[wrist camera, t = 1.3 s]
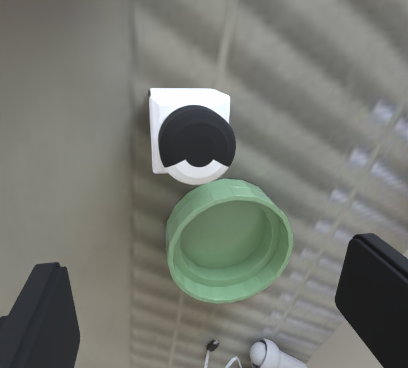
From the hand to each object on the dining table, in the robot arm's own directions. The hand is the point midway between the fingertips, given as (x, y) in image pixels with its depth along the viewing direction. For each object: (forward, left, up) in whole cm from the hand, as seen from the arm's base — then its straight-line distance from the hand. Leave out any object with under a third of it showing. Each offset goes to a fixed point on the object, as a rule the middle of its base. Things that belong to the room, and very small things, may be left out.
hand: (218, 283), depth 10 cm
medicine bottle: (-1, -1, -26) cm, 26 cm away
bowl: (-12, +10, -25) cm, 30 cm away
